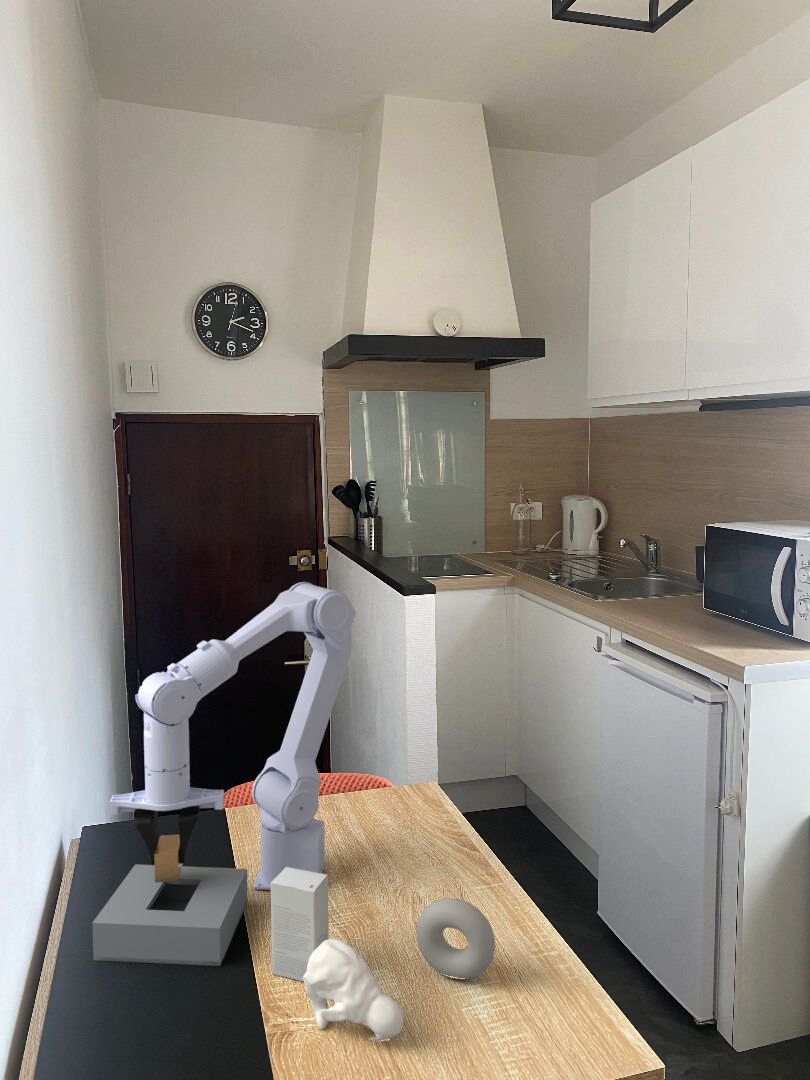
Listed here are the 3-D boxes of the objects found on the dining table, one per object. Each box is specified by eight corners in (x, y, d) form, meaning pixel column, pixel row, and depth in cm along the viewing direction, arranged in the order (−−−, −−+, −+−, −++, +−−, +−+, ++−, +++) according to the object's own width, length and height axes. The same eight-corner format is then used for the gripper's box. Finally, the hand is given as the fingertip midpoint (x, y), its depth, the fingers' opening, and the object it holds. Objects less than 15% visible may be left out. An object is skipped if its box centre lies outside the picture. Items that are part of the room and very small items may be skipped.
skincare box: (329, 964, 100) (330, 874, 99) (315, 986, 96) (315, 892, 95) (286, 954, 102) (285, 865, 101) (269, 974, 98) (269, 882, 97)
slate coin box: (247, 902, 114) (247, 868, 113) (220, 965, 100) (219, 928, 99) (136, 897, 114) (135, 864, 114) (93, 960, 100) (92, 922, 100)
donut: (411, 974, 99) (412, 898, 97) (420, 958, 102) (422, 883, 101) (490, 996, 95) (492, 916, 94) (497, 978, 98) (499, 901, 97)
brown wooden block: (183, 861, 111) (182, 834, 111) (178, 881, 106) (177, 852, 106) (160, 863, 111) (160, 835, 110) (154, 882, 106) (154, 853, 105)
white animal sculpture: (334, 921, 95) (421, 967, 88) (328, 985, 96) (413, 1035, 90) (299, 949, 89) (389, 999, 83) (294, 1017, 91) (381, 1071, 84)
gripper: (225, 750, 112) (226, 842, 113) (116, 754, 110) (119, 848, 111) (221, 770, 105) (222, 868, 106) (105, 775, 103) (108, 875, 104)
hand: (169, 860), depth 108 cm, fingers closed on brown wooden block, 3 cm apart
